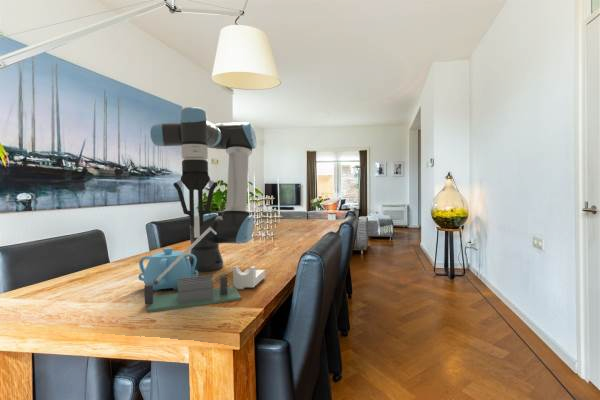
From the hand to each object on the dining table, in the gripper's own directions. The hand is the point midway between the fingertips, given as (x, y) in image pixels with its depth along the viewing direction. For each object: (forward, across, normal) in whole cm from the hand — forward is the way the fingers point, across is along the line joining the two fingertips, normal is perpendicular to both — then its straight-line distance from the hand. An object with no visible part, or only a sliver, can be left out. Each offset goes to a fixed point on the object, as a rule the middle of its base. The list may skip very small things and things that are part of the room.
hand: (196, 236), depth 100 cm
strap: (+7, -2, 0) cm, 7 cm away
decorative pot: (+20, -9, +18) cm, 28 cm away
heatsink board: (+19, -1, 0) cm, 19 cm away
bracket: (+20, +18, +10) cm, 29 cm away
